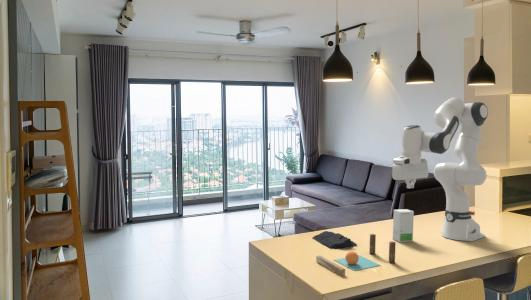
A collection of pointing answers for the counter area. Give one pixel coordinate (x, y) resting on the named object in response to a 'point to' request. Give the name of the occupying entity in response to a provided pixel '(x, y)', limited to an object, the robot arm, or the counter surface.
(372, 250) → the post
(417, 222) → the counter surface
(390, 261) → the post
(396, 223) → the skincare box
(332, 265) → the rail
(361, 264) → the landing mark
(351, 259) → the ball
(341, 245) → the dark slate chunk
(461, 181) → the robot arm
